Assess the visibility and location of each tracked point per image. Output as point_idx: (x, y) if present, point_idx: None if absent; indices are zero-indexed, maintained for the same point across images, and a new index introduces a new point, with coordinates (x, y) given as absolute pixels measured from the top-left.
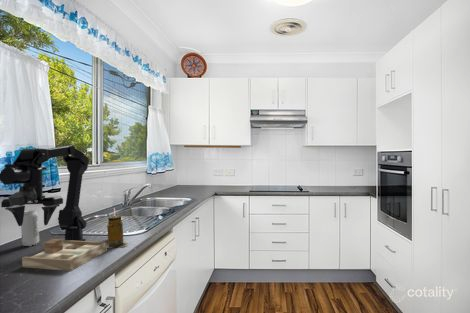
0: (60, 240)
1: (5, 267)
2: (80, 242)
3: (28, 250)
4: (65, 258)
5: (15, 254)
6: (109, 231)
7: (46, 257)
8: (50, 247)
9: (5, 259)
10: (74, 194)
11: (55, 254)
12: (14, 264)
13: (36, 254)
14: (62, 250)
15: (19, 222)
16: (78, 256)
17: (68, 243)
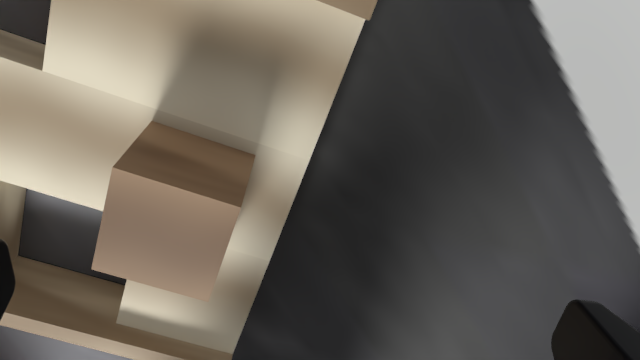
0: (97, 245)
1: (531, 18)
2: (42, 315)
3: (513, 345)
4: (14, 44)
5: (578, 289)
6: None
7: (151, 14)
8: (170, 155)
9: (613, 204)
10: None
11: (111, 86)
12: (483, 74)
13: (316, 128)
14: None
15: (615, 357)
16: None
17: (178, 339)
